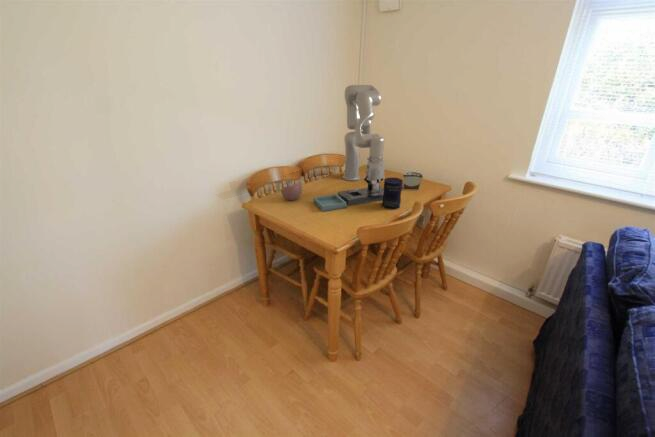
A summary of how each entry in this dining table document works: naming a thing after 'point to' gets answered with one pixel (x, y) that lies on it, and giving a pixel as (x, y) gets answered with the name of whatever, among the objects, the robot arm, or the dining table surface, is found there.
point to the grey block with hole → (360, 196)
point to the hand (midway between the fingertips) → (373, 189)
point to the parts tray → (329, 202)
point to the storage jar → (392, 193)
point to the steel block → (375, 187)
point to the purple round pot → (291, 191)
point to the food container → (412, 180)
